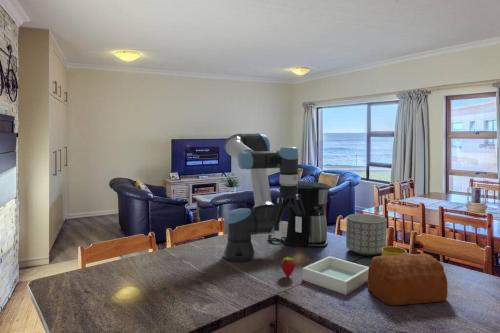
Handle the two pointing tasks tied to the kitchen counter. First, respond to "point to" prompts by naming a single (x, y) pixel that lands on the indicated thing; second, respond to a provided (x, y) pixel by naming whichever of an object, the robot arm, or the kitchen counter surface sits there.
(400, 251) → the plant pot
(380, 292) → the bread
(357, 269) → the serving bin
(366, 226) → the planter
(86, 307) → the kitchen counter surface
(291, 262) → the strawberry
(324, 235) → the coffee maker
